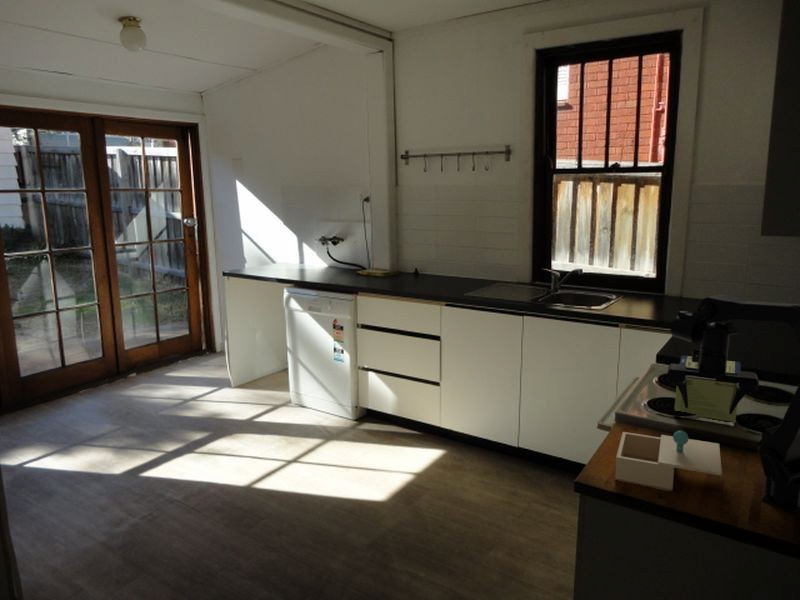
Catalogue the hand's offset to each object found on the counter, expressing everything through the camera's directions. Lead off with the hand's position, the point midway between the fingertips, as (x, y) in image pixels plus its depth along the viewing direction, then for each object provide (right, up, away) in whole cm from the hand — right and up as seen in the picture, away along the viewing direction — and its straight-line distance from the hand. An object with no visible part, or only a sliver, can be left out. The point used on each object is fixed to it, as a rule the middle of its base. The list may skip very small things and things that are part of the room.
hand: (708, 410), depth 139 cm
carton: (-15, -14, -1) cm, 21 cm away
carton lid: (-8, -9, -6) cm, 13 cm away
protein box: (+14, -7, +28) cm, 32 cm away
